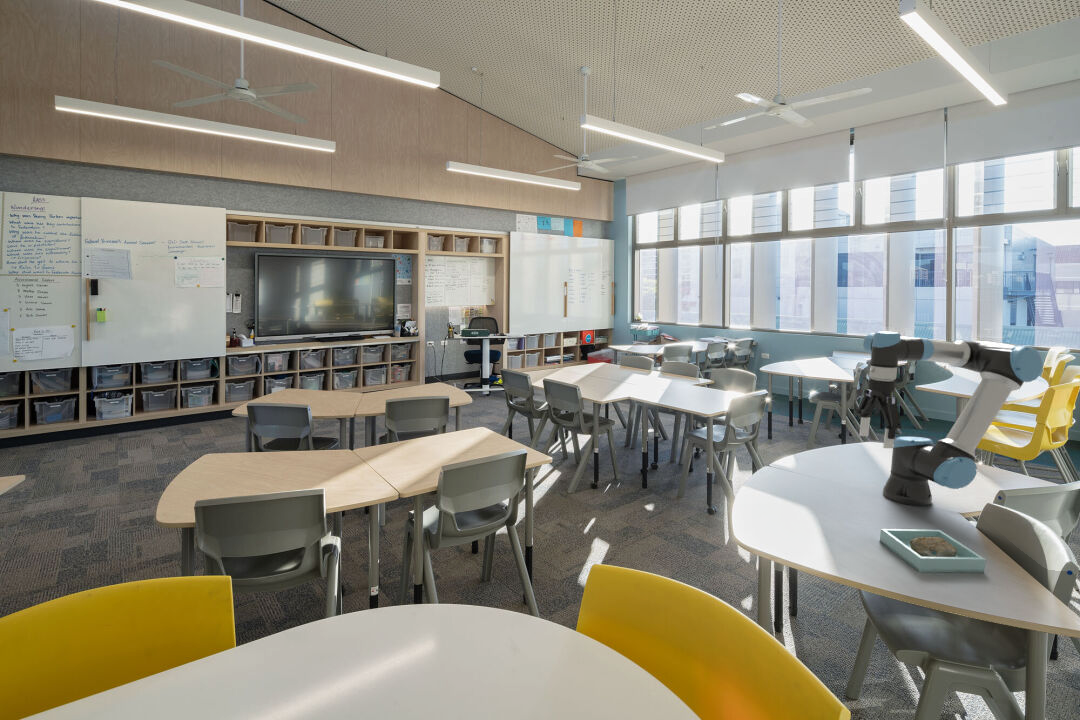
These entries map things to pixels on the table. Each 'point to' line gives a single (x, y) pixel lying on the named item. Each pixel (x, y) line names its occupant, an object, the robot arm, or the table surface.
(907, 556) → the tray
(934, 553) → the rock
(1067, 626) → the table surface
